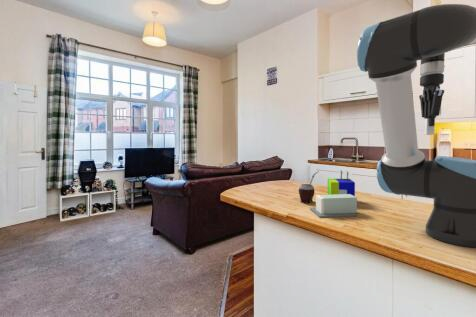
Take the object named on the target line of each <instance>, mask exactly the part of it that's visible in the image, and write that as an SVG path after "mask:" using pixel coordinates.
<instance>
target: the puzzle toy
mask: <svg viewBox="0 0 476 317" xmlns="http://www.w3.org/2000/svg"><path fill="white" fill-rule="evenodd" d="M335 194H351V195H353V196H355V195H356V182H355V181H354V180H352V179H351V178H327V195H335ZM355 197H356V196H355Z"/></svg>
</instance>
